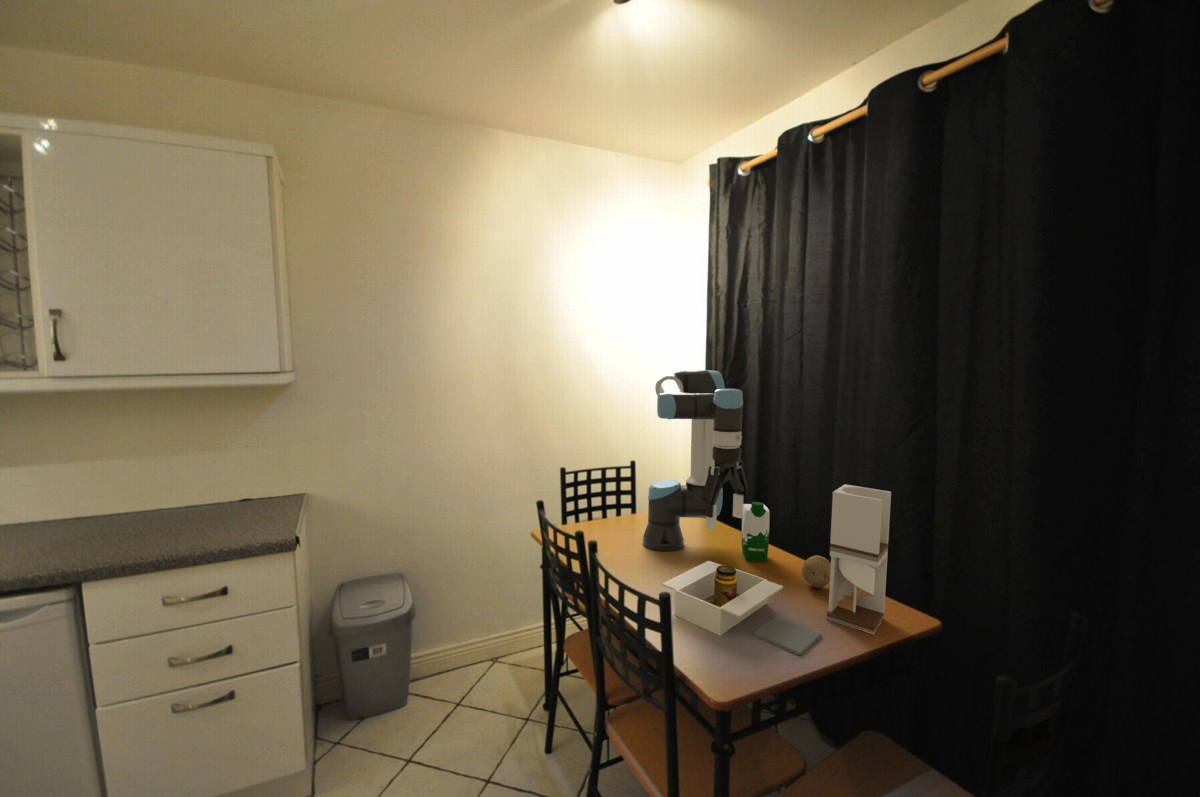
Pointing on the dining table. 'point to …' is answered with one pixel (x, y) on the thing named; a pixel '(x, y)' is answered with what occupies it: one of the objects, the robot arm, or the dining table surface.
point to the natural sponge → (817, 571)
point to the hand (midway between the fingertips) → (724, 522)
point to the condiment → (724, 585)
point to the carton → (701, 586)
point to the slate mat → (787, 635)
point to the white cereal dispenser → (858, 556)
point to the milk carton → (755, 532)
